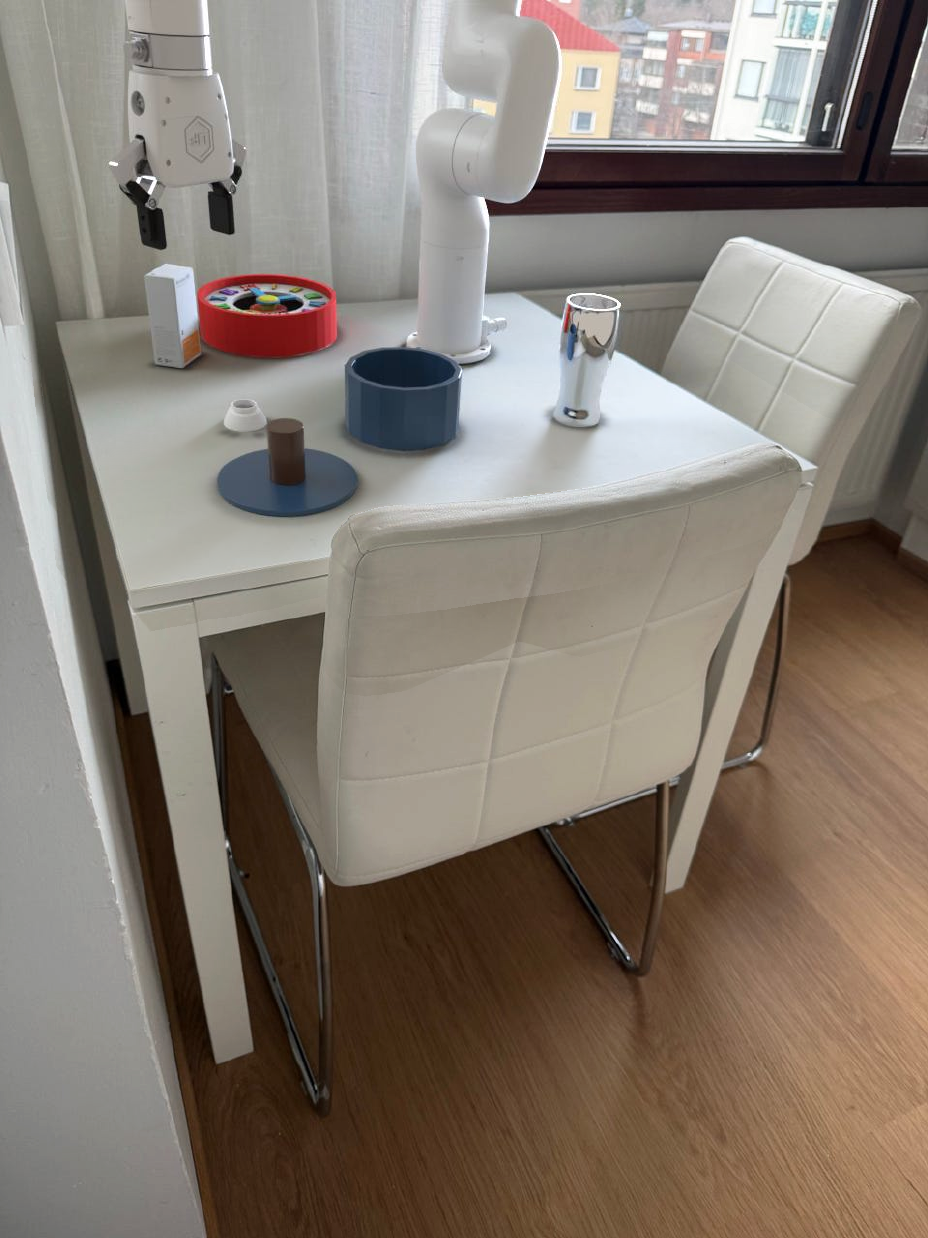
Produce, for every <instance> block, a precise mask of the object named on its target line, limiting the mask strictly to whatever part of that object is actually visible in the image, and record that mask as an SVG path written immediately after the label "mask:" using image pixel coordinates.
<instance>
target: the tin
mask: <svg viewBox="0 0 928 1238" xmlns="http://www.w3.org/2000/svg"><path fill="white" fill-rule="evenodd" d="M462 377H463V369H462V367H461V366H460V364H458V363H457V362H456V361H454V360H452V359H451V358H449V357H447V356H445V355H443V354H440V353H436V352H432V351H429V350H424V349H416V348H408V347H406V346H393V347H390V346H389V347H377V348H373V349H368V350H367V349H366V350H363V351H360V352H358V353H357V354H355V355H352V356H350V357H349V358H348V360H347V361H346V363H345V364H344V412H345V413H344V415H345V420H344V421H345V426H346V427H345V428H346V430H347V432H348V435H350V436H352V437H353V438H354V439H355V440H357V441H358V442H360V443H362V444H365V445H369V446H372V447H375V448H377V449H382V450H392V451H398V452H413V451H425V450H426V451H427V450H429V449H433V448H437V447H441V446H444V445H446V444H447V443H449V442H450V441H452V440H456V439H457V436H458V430H459V426H460V425H459V424H460V410H461V409H460V407H461V394H462V393H461V392H462V380H463V379H462Z"/></svg>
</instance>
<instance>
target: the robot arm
mask: <svg viewBox="0 0 928 1238" xmlns="http://www.w3.org/2000/svg"><path fill="white" fill-rule="evenodd" d="M124 3H125V5H124V6H125V13H126V19H127V20H126V21H127V29H128V39H129V41H125V42H124V43H123V49H122V50H123V53H124V56H125V57H126V58H127V59H131V63H132V69H130V70H129V71H128V83H127V88H128V89H127V119H128V137H129V144H127V145H126V146H125V147H124V148H123V149H122V150H121V151H120V152H119V153H117V154H116V155H115V156H114V157H113V158H112V159H111V160H110V161H109V163H108V167H109V170H110V171H111V173H112V175H113V177H114V179H115V180H116V182H117V183H118V187H119V190H120V191H121V192H122V193H123V195H125V196H126V197H127V198H128V199H129V202H130V204H131V205H132V206H136V213H137V222H138V229H139V235H140V241H141V244H142V245H143V246H145V247H149V248H152V249H155V250H157V251H158V250H159V251H163V250H166V249H167V247H168V244H167V243H168V241H167V234H166V233H167V232H166V225H165V217H164V211H163V208H161V207H158V204H159V203H160V200H161V199H162V196H163V194H164V191H165V190H166V187H167V188H172V189H178V188H179V189H180V188H187V187H193V186H199V185H204V184H205V185H206V184H208V186H209V187H210V188H211V190H210V191H207V205H208V206H207V207H208V217H209V228H210V230H212V232H217V233H221V234H225V235H228V236H232V235H234V234H235V233H236V229H235V217H234V216H235V215H234V214H235V213H234V203H233V201H234V200H233V196H235V195H236V194H237V192H238V188H237V184H238V183H239V181H240V179H241V177H242V174H243V169H242V168H243V166H244V162H245V158H246V154H247V149H246V147H245V146H244V145H243V144H241V143H239V142H237V141H236V140H234V139H233V138H232V131H231V125H230V119H229V111H228V107H227V102H226V96H225V92H224V87H223V84H222V81H221V78H220V77H221V76H220V74H219V72H217V71H214V70H213V59H212V47H211V35H210V22H209V8H208V7H209V6H208V0H124ZM521 5H522V0H451V3H450V8H449V14H448V20H447V26H446V32H445V37H444V44H443V49H442V50H443V51H442V63H441V65H442V67H441V71H442V76H443V77H442V78H443V79H444V82H445V84H446V86H447V87H448V88H449V89H450V90H451V91H453V92H454V93H456V94H457V95H460V96H463V97H465V98H468V99H473V100H478V101H482V102H487V103H492V104H495V106H496V107H495V113H494V114H495V115H492V114H488V113H484V112H480V111H475V110H470V109H465V108H460V107H459V108H457V107H447V108H443V109H442V108H441V109H439V110H436V111H434V112H433V113H431V114H430V115H429V116H427V117H426V119H425V120H424V121H423V122H422V124H421V126H420V128H419V130H418V133H417V137H416V141H415V142H416V143H415V161H416V169H417V176H418V183H419V192H420V238H419V263H418V264H419V265H418V289H417V290H418V291H417V293H418V294H417V320H416V321H417V322H416V331H414V332H412V333H410V334H409V335H408V336H407V337H406V338H405V339H406V340H405V347H408V348H416V349H424V350H429V351H432V352H436V353H440V354H443V355H445V356H447V357H449V358H451V359H452V360H454V361H456V362H457V363H458V365H464V364H471V363H476V362H479V361H483V360H484V359H486V358H488V356H489V355H490V354H491V347H492V345H491V342H490V341H489V340H488V339H487V337H489V336H490V335H491V333H498V332H503V331H505V330H506V329H507V327H508V323H507V320H506V318H505V317H497V318H493V319H490V318H489V316H488V315H484V306H485V305H484V303H485V291H486V279H487V267H488V266H487V264H488V254H489V253H488V252H489V242H490V218H489V212H488V208H487V204H486V201H485V200H489V201H493V202H497V203H502V204H513V203H517V202H520V201H521V200H523V199H524V198H526V197H527V196H528V194H529V193H530V192H531V191H532V189H533V187H534V186H535V184H536V181H537V179H538V177H539V173H540V172H541V167H542V164H543V160H544V156H545V150H546V147H547V141H548V138H549V133H550V129H551V124H552V121H553V116H554V111H555V106H556V103H557V102H556V101H557V97H558V94H559V93H558V92H559V87H560V82H561V77H562V56H561V55H562V54H561V48H560V47H561V46H560V44H559V40H558V38H557V36H556V34H555V32H554V30H553V29H552V28H551V27H550V26H549V25H548V24H547V23H545V22H544V21H542V20H540V19H537V18H534V17H529V16H521V15H520V13H521V12H520V11H521V7H522V6H521ZM132 170H133V171H134V174H135V176H136V180H135V178H134V175H133V172H132Z"/></svg>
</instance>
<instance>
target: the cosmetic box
mask: <svg viewBox="0 0 928 1238" xmlns="http://www.w3.org/2000/svg"><path fill="white" fill-rule="evenodd" d="M143 280H144V288H145V296H146V303H147V304H146V305H147V311H148V319H149V327H150V335H151V336H150V337H151V344H152V352H153V360H154V364H155V365H156V366H163V367H170V368H177V369H185V367H187V365H189V364H190V363H191V362H193V361H194V360H196V359H197V358H198V357H200V356H202V348H201V347H202V346H201V335H200V325H199V314H198V304H197V294H196V285H195V274H194V268H193V267H191V266H184V265H176V264H170V263H165V264H162V265H161V266H159V267H155V268H154V269H152V270H151V271H149V272H148V273H146V274H144V275H143Z"/></svg>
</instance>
